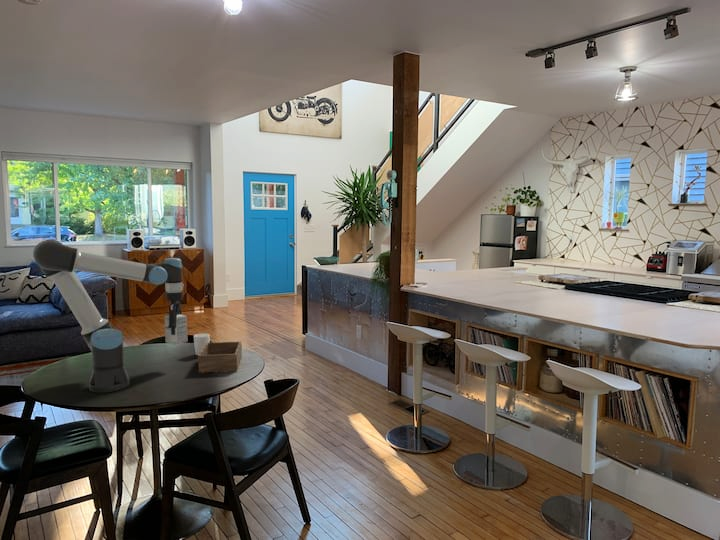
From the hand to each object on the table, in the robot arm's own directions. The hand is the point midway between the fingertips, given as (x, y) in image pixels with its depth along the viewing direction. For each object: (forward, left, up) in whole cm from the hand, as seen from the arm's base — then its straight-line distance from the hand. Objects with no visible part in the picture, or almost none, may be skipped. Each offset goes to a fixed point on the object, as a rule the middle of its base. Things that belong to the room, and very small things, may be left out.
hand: (176, 338), depth 241 cm
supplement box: (0, 0, -2) cm, 2 cm away
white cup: (+21, -8, -14) cm, 26 cm away
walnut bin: (+1, -20, -14) cm, 24 cm away
